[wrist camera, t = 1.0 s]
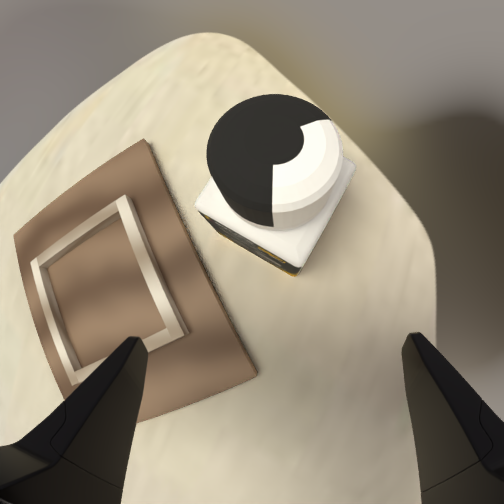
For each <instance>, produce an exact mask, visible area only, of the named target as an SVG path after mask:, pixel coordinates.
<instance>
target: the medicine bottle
mask: <svg viewBox="0 0 504 504" xmlns="http://www.w3.org/2000/svg"><path fill="white" fill-rule="evenodd" d="M207 164H208V168H209V171H210V174H211V176H212V177H211V178H210V180H209V181H208V183H207V184H206V186H205V187H204V189H203V190H202V192H201V193H200V195H199V196H198V198H197V200H196V201H195V208H196V209H197V210H198V211H199V213H200V214H201V215H202V216H203V217H204V218H205V219H206V220H207V221H208V222H209V223H210V224H211V225H212V227H213V228H214V229H215V230H216V231H217V232H218V233H219V234H221V235H222V236H224V237H226V238H227V239H229V240H231V241H233V242H234V243H236V244H238V245H239V246H241V247H243V248H245V249H246V250H248V251H250V252H251V253H253V254H255V255H256V256H258V257H260V258H262V259H263V260H265V261H267V262H268V263H270V264H272V265H274V266H275V267H277V268H279V269H280V270H282V271H284V272H286V273H287V274H289V275H291V276H294V277H295V276H297V275H298V274H299V272H300V271H301V269H302V267H303V266H304V264H305V262H306V261H307V259H308V257H309V255H310V254H311V252H312V250H313V248H314V247H315V245H316V243H317V241H318V239H319V238H320V236H321V234H322V232H323V230H324V229H325V227H326V225H327V223H328V221H329V220H330V218H331V216H332V214H333V212H334V210H335V209H336V207H337V205H338V203H339V201H340V199H341V197H342V195H343V194H344V192H345V190H346V188H347V186H348V184H349V182H350V180H351V178H352V176H353V175H354V173H355V171H356V164H355V163H354V162H353V161H351V160H349V159H347V158H346V157H344V156H343V145H342V141H341V137H340V135H339V132H338V130H337V128H336V127H335V125H334V123H333V122H332V121H331V119H330V118H329V117H328V116H327V115H326V114H325V113H324V112H323V111H322V110H321V109H319V108H318V107H316V106H315V105H313V104H311V103H309V102H307V101H305V100H303V99H300V98H297V97H293V96H289V95H281V94H269V95H261V96H257V97H253V98H250V99H247V100H245V101H243V102H241V103H239V104H237V105H235V106H234V107H232V108H231V109H230V110H228V111H227V112H226V113H225V114H224V115H223V116H222V117H221V118H220V119H219V120H218V122H217V123H216V125H215V126H214V128H213V130H212V132H211V134H210V137H209V140H208V144H207Z"/></svg>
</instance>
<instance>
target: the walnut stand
mask: <svg viewBox="0 0 504 504" xmlns="http://www.w3.org/2000/svg"><path fill="white" fill-rule="evenodd" d="M14 241H15V247H16V253H17V258H18V263H19V267H20V272H21V276H22V281H23V285H24V289H25V293H26V296H27V300H28V304H29V307H30V311H31V314H32V317H33V320H34V324H35V327H36V330H37V333H38V336H39V339H40V341H41V344H42V347H43V350H44V352H45V355H46V358H47V360H48V363H49V365H50V368H51V370H52V373H53V375H54V377H55V380H56V382H57V384H58V387H59V389H60V391H61V393H62V395H63V398H64V400H65V399H66V398H67V397H68V396H69V395H70V394H71V393H72V392H73V391H74V390H75V389H76V388H77V387H78V386H79V385H80V384H81V383H82V382H83V381H84V380H85V379H86V378H87V377H88V376H89V375H90V374H91V373H92V372H93V371H94V370H95V369H96V368H97V367H98V366H99V365H100V364H101V363H102V362H103V361H104V360H105V359H106V358H107V357H108V356H109V355H110V354H111V353H112V352H113V351H114V350H115V349H116V348H117V347H118V346H119V345H120V344H121V343H122V342H123V341H124V340H125V339H126V338H127V337H129V336H138V337H140V338H141V339H142V341H143V343H144V345H145V347H146V348H147V351H148V362H147V369H146V377H145V384H144V391H143V397H142V401H141V405H140V410H139V414H138V418H137V423H139V422H142V421H145V420H148V419H151V418H154V417H157V416H160V415H163V414H165V413H168V412H171V411H174V410H176V409H179V408H182V407H185V406H187V405H190V404H192V403H195V402H198V401H200V400H203V399H205V398H208V397H210V396H213V395H215V394H217V393H220V392H222V391H225V390H227V389H229V388H232V387H234V386H236V385H238V384H241V383H243V382H245V381H247V380H250V379H252V378H254V377H256V376H257V373H258V372H257V371H256V369H255V367H254V365H253V363H252V361H251V359H250V358H249V356H248V354H247V352H246V350H245V348H244V346H243V344H242V342H241V340H240V339H239V337H238V335H237V333H236V331H235V329H234V327H233V325H232V323H231V321H230V319H229V317H228V315H227V313H226V311H225V309H224V307H223V305H222V303H221V301H220V299H219V297H218V295H217V293H216V291H215V289H214V287H213V285H212V283H211V281H210V279H209V277H208V275H207V273H206V271H205V269H204V267H203V264H202V262H201V260H200V258H199V256H198V254H197V252H196V250H195V248H194V245H193V243H192V241H191V239H190V237H189V235H188V233H187V230H186V228H185V226H184V224H183V222H182V220H181V217H180V215H179V213H178V211H177V208H176V206H175V204H174V202H173V200H172V197H171V195H170V193H169V190H168V188H167V186H166V184H165V181H164V179H163V177H162V174H161V172H160V170H159V167H158V165H157V163H156V160H155V158H154V156H153V153H152V151H151V148H150V146H149V144H148V143H147V142H146V140H145V139H142V140H140V141H139V142H137V143H135V144H134V145H132V146H130V147H129V148H127V149H126V150H124V151H123V152H121V153H119V154H118V155H116V156H115V157H113V158H112V159H110V160H109V161H107V162H106V163H104V164H103V165H101V166H100V167H98V168H97V169H96V170H94V171H93V172H91V173H90V174H88V175H87V176H86V177H84V178H83V179H82V180H80V181H79V182H77V183H76V184H75V185H73V186H72V187H71V188H69V189H68V190H67V191H65V192H64V193H63V194H62V195H60V196H59V197H58V198H56V199H55V200H54V201H53V202H51V203H50V204H49V205H48V206H46V207H45V208H44V209H43V210H42V211H40V212H39V213H38V214H37V215H36V216H35V217H33V218H32V219H31V220H30V221H29V222H28V223H26V224H25V225H24V226H23V227H22V228H21V229H20V230H19V231H17V232H16V233H15V234H14Z"/></svg>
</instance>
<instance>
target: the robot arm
mask: <svg viewBox="0 0 504 504" xmlns="http://www.w3.org/2000/svg"><path fill="white" fill-rule="evenodd" d="M402 361H403V370H404V379H405V389H406V396H407V401H408V406H409V412H410V417H411V423H412V428H413V434H414V441H415V447H416V454H417V461H418V469H419V478H420V488H421V492H422V493H421V501H422V504H504V422H503V421H502V420H501V419H500V418H499V417H498V416H497V415H496V414H495V413H494V412H493V411H492V410H491V408H490V407H489V406H488V405H487V404H486V403H485V402H484V401H483V400H482V398H481V397H480V396H479V395H478V394H477V393H476V392H475V390H474V389H473V388H472V387H471V386H470V385H469V384H468V382H467V381H466V380H465V379H464V378H463V377H462V376H461V375H460V374H459V373H458V371H457V370H456V369H455V368H454V367H453V366H452V365H451V364H450V363H449V362H448V361H447V360H446V358H444V356H443V355H442V354H441V353H440V352H439V351H438V350H437V349H436V348H435V347H434V346H433V345H432V344H431V343H430V342H429V341H428V340H427V338H426V337H425V336H424V335H423V334H422V333H420V332H415V333H409V334H408V336H407V338H406V340H405V343H404V345H403V347H402ZM147 362H148V351H147V348H146V347H145V345H144V343H143V341H142V339H141V338H140V337H138V336H129V337H127V338H126V339H125V340H124V341H123V342H122V343H121V344H120V345H119V346H118V347H117V348H116V349H115V350H114V351H113V352H112V353H111V354H110V355H109V356H108V357H107V358H106V359H105V360H104V361H103V362H102V363H101V364H100V365H99V366H98V367H97V368H96V369H95V370H94V371H93V372H92V373H91V374H90V375H89V376H88V377H87V378H86V379H85V380H84V381H83V382H82V383H81V384H80V385H79V386H78V387H77V388H76V389H75V390H74V391H73V392H72V393H71V394H70V395H69V396H68V397H67V398H66V399H65V401H63V402H62V403H61V404H60V405H59V406H58V407H57V408H56V409H55V410H54V411H53V412H52V413H51V414H50V415H49V416H48V417H47V418H45V419H44V420H43V421H42V422H41V423H40V424H39V425H37V426H36V427H35V428H34V429H33V430H31V431H30V432H29V433H28V434H27V435H25V436H24V437H23V438H22V439H20V440H19V441H17V442H15V443H13V444H10V445H6V446H0V504H121V498H122V493H123V486H124V481H125V475H126V470H127V465H128V460H129V455H130V450H131V445H132V441H133V436H134V431H135V427H136V423H137V418H138V414H139V410H140V405H141V401H142V397H143V391H144V384H145V377H146V369H147Z"/></svg>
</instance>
